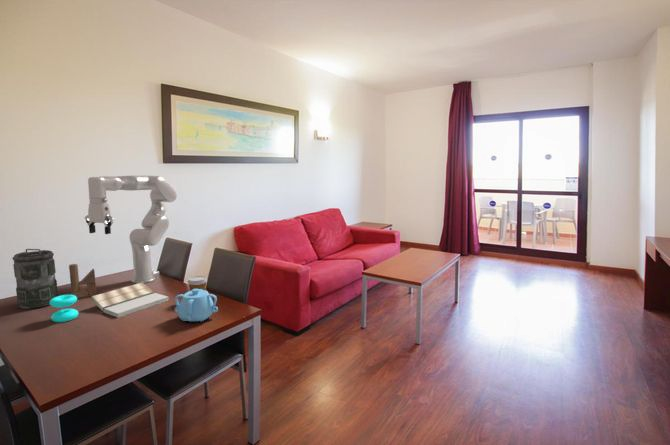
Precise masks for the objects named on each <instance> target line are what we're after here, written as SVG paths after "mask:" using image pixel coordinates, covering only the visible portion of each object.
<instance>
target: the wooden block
mask: <svg viewBox="0 0 670 445" xmlns="http://www.w3.org/2000/svg"><path fill="white" fill-rule="evenodd" d="M78 266H79V265H78V264H77V263H72V264H68V269H69V278H70V280H69V281H70V287H71V288H70V289H71V290H70V295H75V296H76V297H77V300H78V299H83V298H88V297H92V296H95V295H98V294H97V284H96V274H95V271H96V270H95V269H94V268H92V269H91V270H89V272H87V274H86V275H85V276H84V278H82V279H81V280H80V277H79V268H78ZM82 285H86V288H87V289H81V288H80V287H81V286H82Z"/></svg>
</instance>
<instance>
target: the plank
mask: <svg viewBox="0 0 670 445" xmlns="http://www.w3.org/2000/svg"><path fill="white" fill-rule="evenodd" d="M151 292H154V291H153V290H152V289H151V288H149V286H148V285H146V283H143V282H142V283H134V284H131V285H128V286H124V287H121V288H118V289H114V290H110V291H106V292H103V293H99V294H97V295H95V296H91V301H92V302H93V303H94V304H95V305H96V306H97V308H99V309H100V311H101V312H104V309H103V307H106V306H109V305H112V304H115V303H119V302H122V301H125V300H128V299H132V298H135V297H138V296H142V295H145V294H148V293H151Z"/></svg>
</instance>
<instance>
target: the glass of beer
mask: <svg viewBox="0 0 670 445" xmlns="http://www.w3.org/2000/svg"><path fill="white" fill-rule="evenodd" d="M187 283H188V287H189V291H192V290H193V289H203V290H206V291H207V289H206V288H207V283H208V278H207V276H204V275H195V276H191V277H189V278H188V280H187Z"/></svg>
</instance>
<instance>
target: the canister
mask: <svg viewBox="0 0 670 445" xmlns="http://www.w3.org/2000/svg"><path fill="white" fill-rule="evenodd" d="M12 261H13V271H14V272H13V273H14V278H15V283H16V288H15V292H16V300H17V306H18V307H19V308H20V309H23V310H31V309H36V308H41V307H49V306H51V305H50V300H51V299H53V298H55V297H57V296H59V292H58V282H57V279H56V272H57V271H56V265H55V264H56V263H55V259H54V252H53V251H52V250H46V249H42V250H41V249H40V248H25V251H23V252H20V253H16V254H14V256H12Z"/></svg>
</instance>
